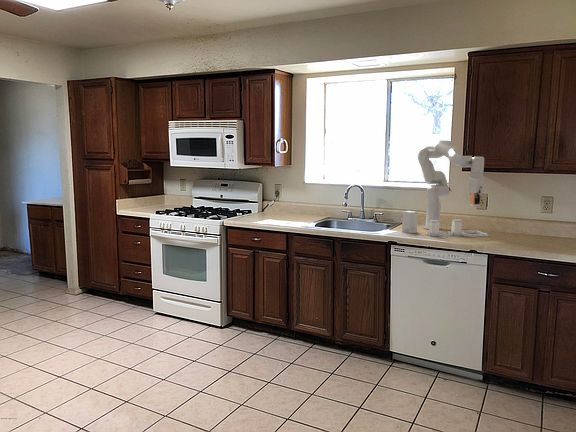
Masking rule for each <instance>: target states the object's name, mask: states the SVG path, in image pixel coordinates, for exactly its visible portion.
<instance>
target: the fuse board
mask: <svg viewBox="0 0 576 432" xmlns="http://www.w3.org/2000/svg"><path fill="white" fill-rule="evenodd" d="M453 233H454V232H453V231H449V230H448V231H447V233H443V231H440V230H439V236H431V232H429V230H428V231H427V233H425V234H424V235H425V236H428V237H430V238H447V237H449V238H452V237H453V238H454V237H455V238H456V237H459V238H460V237H465V235H462V232H461V235H460V236H454V235H453Z"/></svg>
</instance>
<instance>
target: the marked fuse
mask: <svg viewBox="0 0 576 432" xmlns="http://www.w3.org/2000/svg"><path fill="white" fill-rule="evenodd" d="M477 193H479V192H477ZM469 194H470V193H469ZM477 195H478V194H477ZM475 198H476V193H471V194H470V197H469V206H470V207H481V203H480V204H475ZM481 201H482V199H481V198H480V202H481Z"/></svg>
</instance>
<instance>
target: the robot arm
mask: <svg viewBox="0 0 576 432" xmlns="http://www.w3.org/2000/svg"><path fill="white" fill-rule="evenodd" d="M443 156H445V157H446V158H447V159H448V161H449V162H450V163H451V164H453V165H454V166H456V167H458V168H470V178H469V182H468V189H467V190H468V193H469V194H471V193H476V198H475V204H480V205H481V201H480V198H481V197H482V195H483V192H484V169H485V157H484V156H474V157H472V156H473V155H461V154H459V153H458V148H457V147H456V146H455V144H454V142H452V141H450V140H438V141H436V142H435V143H434V145H431V146H430V145H429V146H428V145H426V146H422V147H421V148H420V149H418V153H417V160H418V163H419V165H420V168H421V172H422V174H423V175H422V176H423V178H424V181H425V183H426V184H427V185H429V186H428V187H427V188H426V190H425V194H426V215H425V216H426V218H425V225H424V226H423V229H425V230H426V229H427V230H429V220H438V221H439V231H440V230H442V226H440V223H441V207H442V206H441V200H440V199H442V198H443V199H445V198H446V197H448V196H449V195H450V188H449V183H448V180H447V177H446V175H445V173H444V172H443V171H442V170H435V167H434V164H433V162H432V161H431V160H430V159H439V158H441V157H443ZM477 192H479V193H477ZM477 194H478V195H477Z"/></svg>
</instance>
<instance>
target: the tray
mask: <svg viewBox="0 0 576 432" xmlns="http://www.w3.org/2000/svg"><path fill="white" fill-rule="evenodd" d="M462 235H464V237H468V238H470V237H471V238H476V237H479V238H481V237H489V233H486V232H483V231H480V230H477V229H476V230H474V229H473V230H462Z"/></svg>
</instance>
